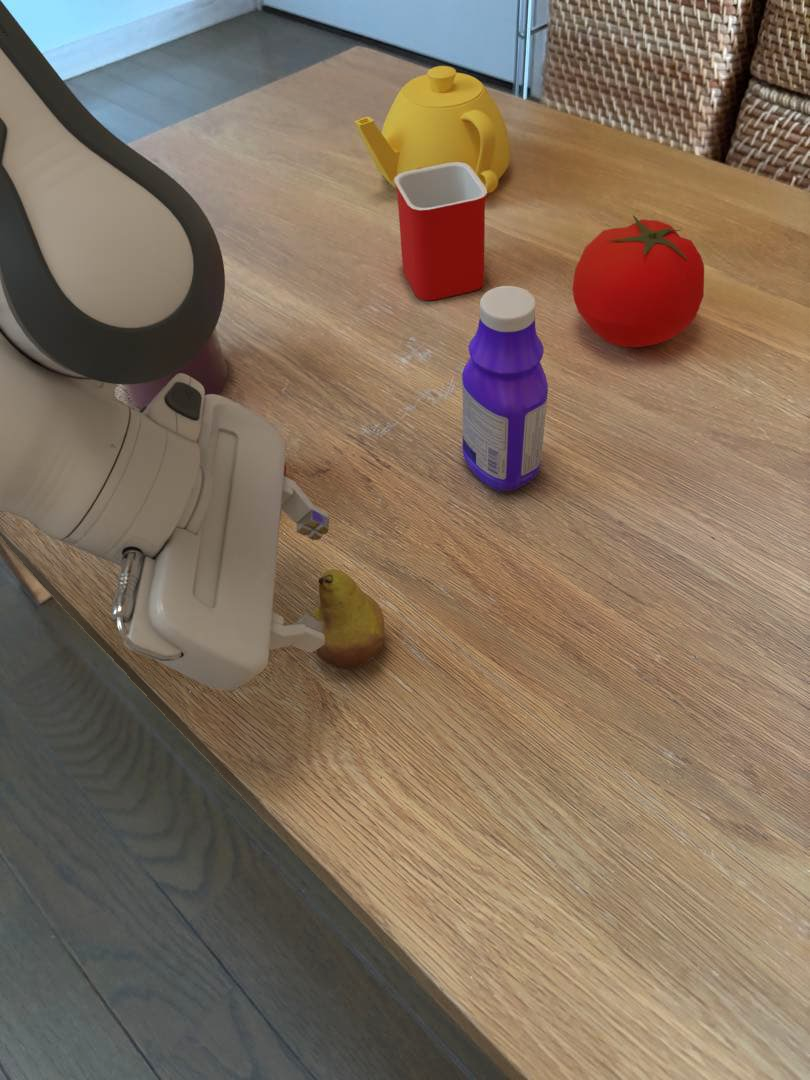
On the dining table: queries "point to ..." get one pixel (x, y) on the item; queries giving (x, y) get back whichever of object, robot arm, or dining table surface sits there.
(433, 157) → the teapot
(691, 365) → the dining table surface
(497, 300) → the bottle
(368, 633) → the fruit
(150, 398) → the jar
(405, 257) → the mug
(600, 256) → the tomato
